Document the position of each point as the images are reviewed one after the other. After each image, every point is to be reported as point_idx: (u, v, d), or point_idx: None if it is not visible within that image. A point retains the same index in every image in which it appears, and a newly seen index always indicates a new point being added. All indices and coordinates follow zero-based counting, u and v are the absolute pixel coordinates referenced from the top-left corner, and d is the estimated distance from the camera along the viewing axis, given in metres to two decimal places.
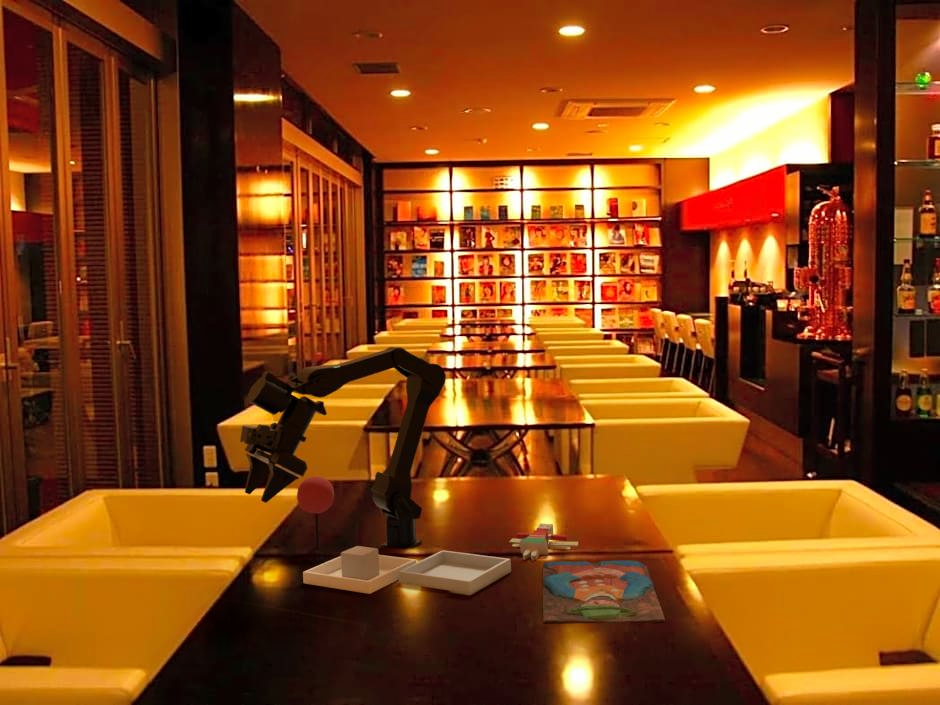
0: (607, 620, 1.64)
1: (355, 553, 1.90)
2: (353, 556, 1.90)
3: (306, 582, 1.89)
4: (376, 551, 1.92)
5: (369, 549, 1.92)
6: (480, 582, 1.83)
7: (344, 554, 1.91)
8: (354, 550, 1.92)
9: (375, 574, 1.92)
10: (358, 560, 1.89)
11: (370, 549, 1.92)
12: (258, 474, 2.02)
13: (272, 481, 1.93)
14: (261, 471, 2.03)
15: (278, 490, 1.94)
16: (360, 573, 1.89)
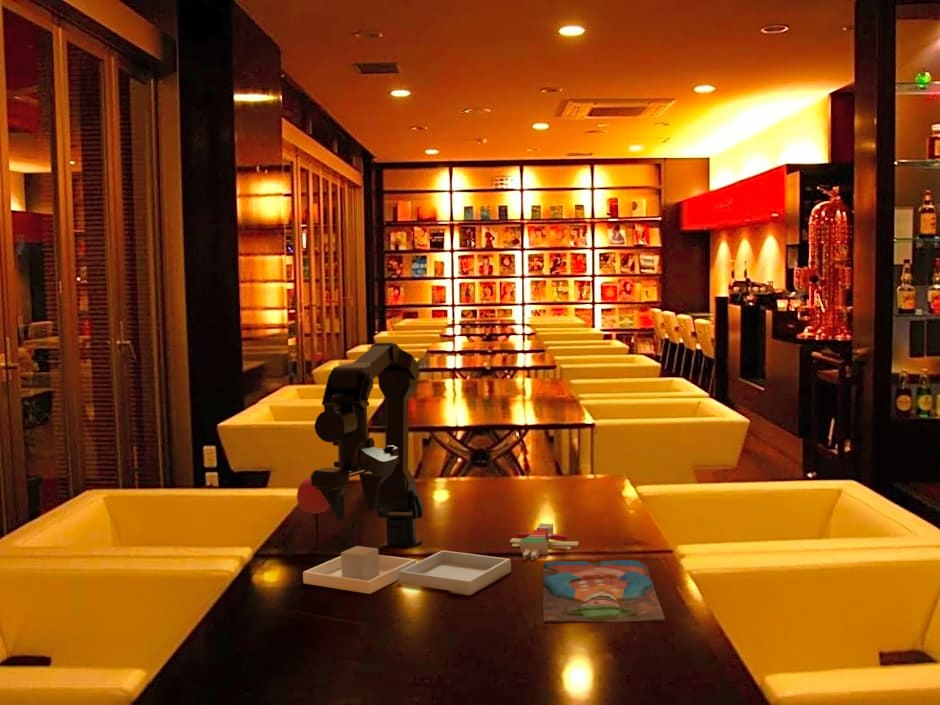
0: (607, 620, 1.64)
1: (355, 553, 1.90)
2: (353, 556, 1.90)
3: (306, 582, 1.89)
4: (376, 551, 1.92)
5: (369, 549, 1.92)
6: (480, 582, 1.83)
7: (344, 554, 1.91)
8: (354, 550, 1.92)
9: (375, 574, 1.92)
10: (358, 560, 1.89)
11: (370, 549, 1.92)
12: None
13: None
14: None
15: None
16: (360, 573, 1.89)
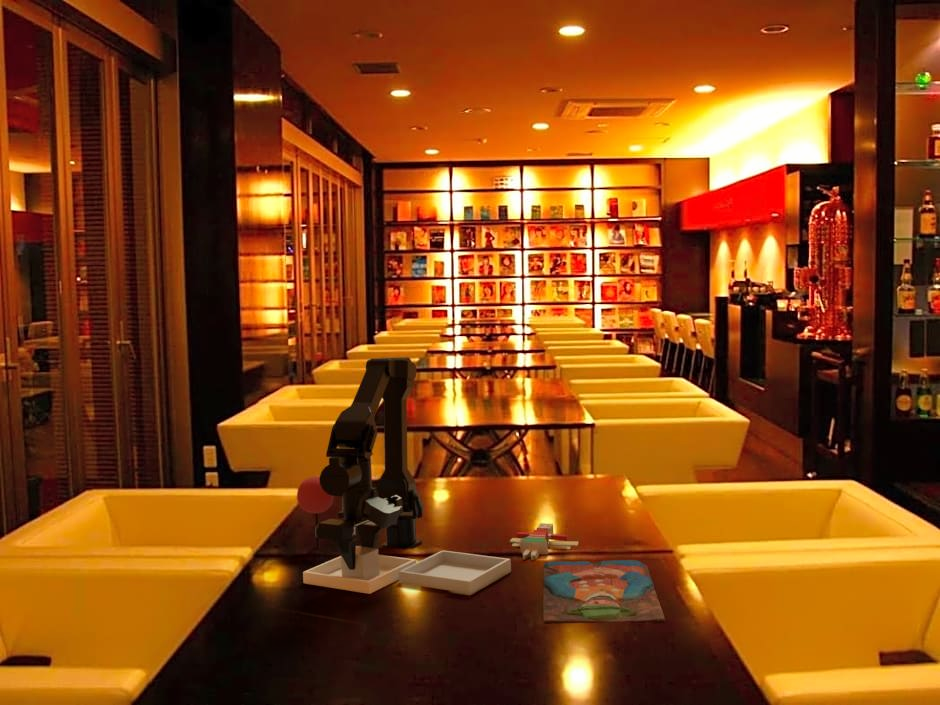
0: (607, 620, 1.64)
1: None
2: None
3: (306, 582, 1.89)
4: (376, 551, 1.92)
5: (369, 549, 1.92)
6: (480, 582, 1.83)
7: None
8: None
9: (375, 574, 1.92)
10: (358, 560, 1.89)
11: (370, 549, 1.92)
12: None
13: None
14: None
15: None
16: (361, 573, 1.89)
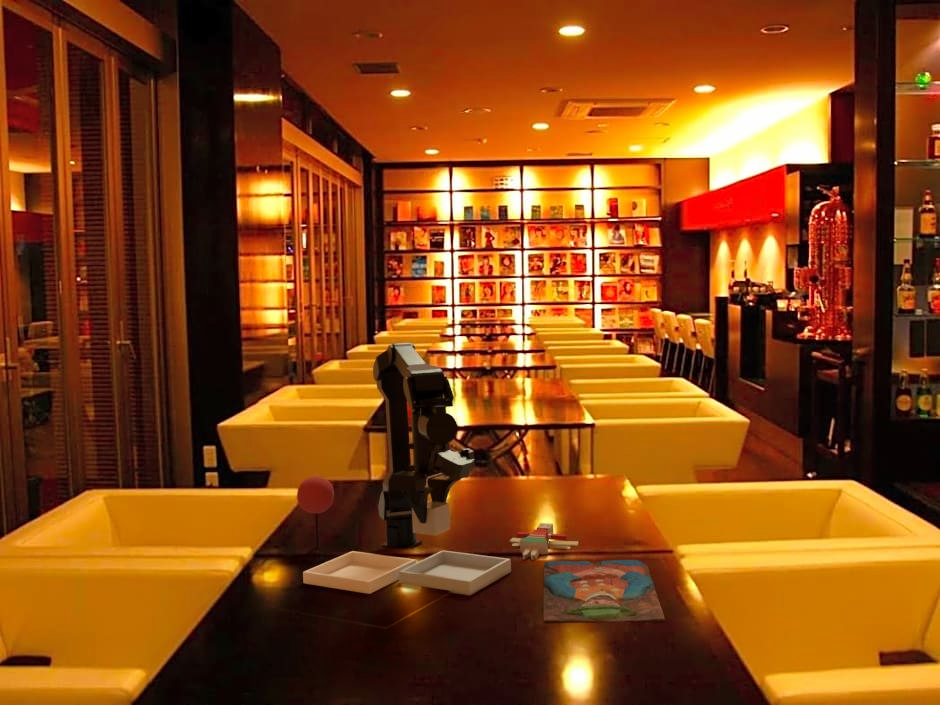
0: (607, 620, 1.65)
1: None
2: None
3: (306, 582, 1.89)
4: (447, 505, 1.90)
5: (440, 503, 1.90)
6: (480, 582, 1.83)
7: None
8: None
9: (446, 528, 1.89)
10: (429, 514, 1.87)
11: (441, 503, 1.90)
12: None
13: None
14: None
15: None
16: (432, 526, 1.86)
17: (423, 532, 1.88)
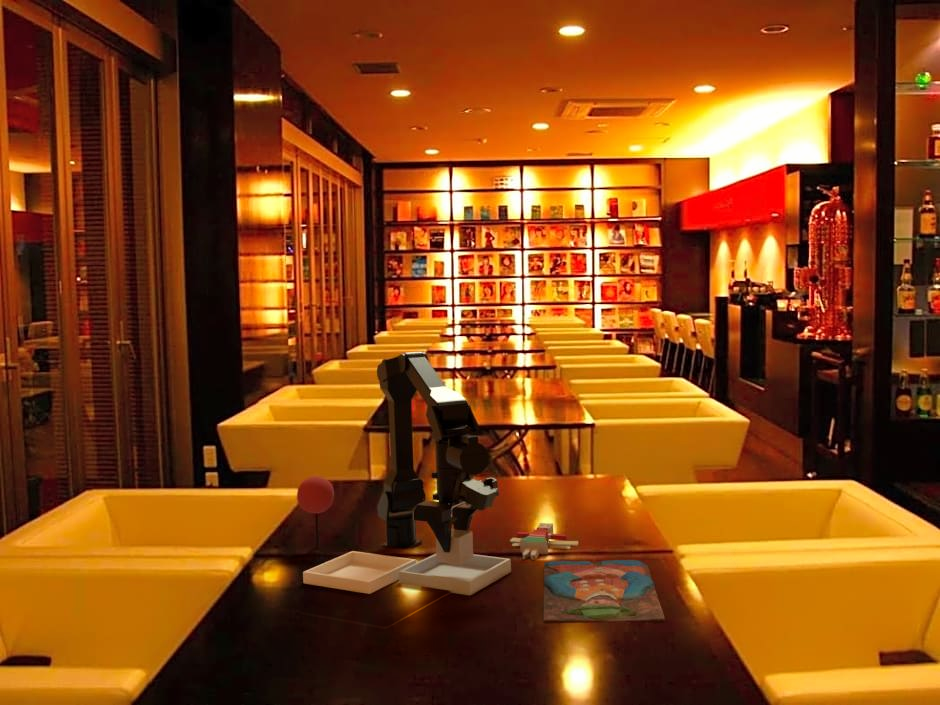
0: (607, 619, 1.65)
1: None
2: None
3: (306, 582, 1.89)
4: (470, 534, 1.90)
5: (463, 532, 1.90)
6: (480, 582, 1.83)
7: None
8: None
9: (469, 557, 1.90)
10: (454, 543, 1.87)
11: (464, 532, 1.90)
12: None
13: None
14: None
15: None
16: (456, 555, 1.87)
17: (447, 561, 1.88)
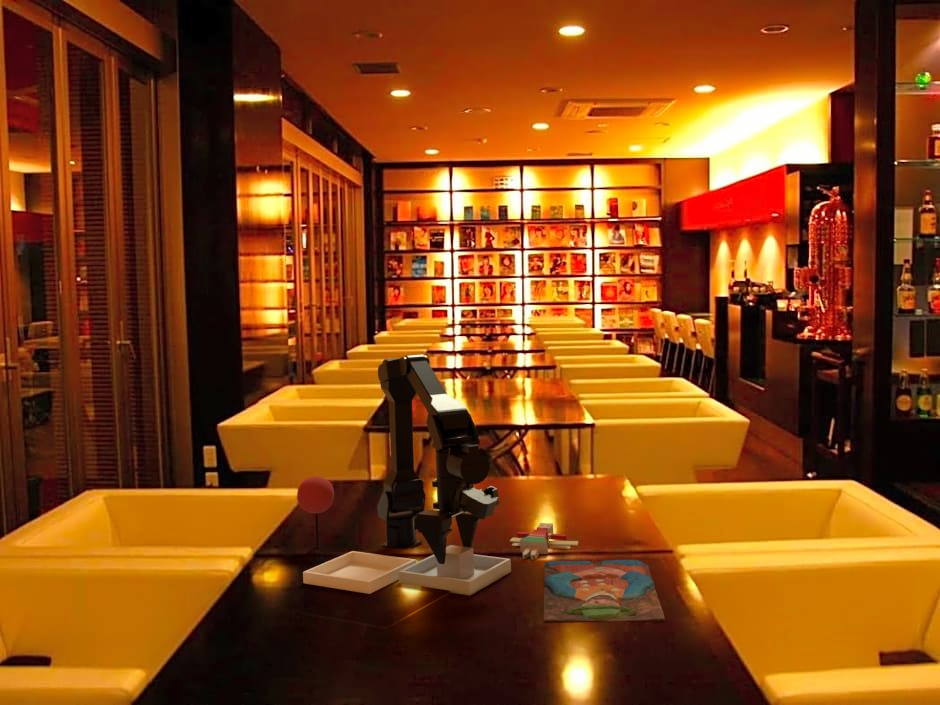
0: (607, 619, 1.65)
1: (451, 552, 1.88)
2: (449, 556, 1.88)
3: (306, 582, 1.89)
4: (471, 550, 1.90)
5: (464, 548, 1.90)
6: (480, 582, 1.83)
7: None
8: (449, 549, 1.90)
9: (470, 573, 1.90)
10: (454, 560, 1.87)
11: (465, 548, 1.90)
12: None
13: None
14: None
15: None
16: (457, 572, 1.87)
17: None
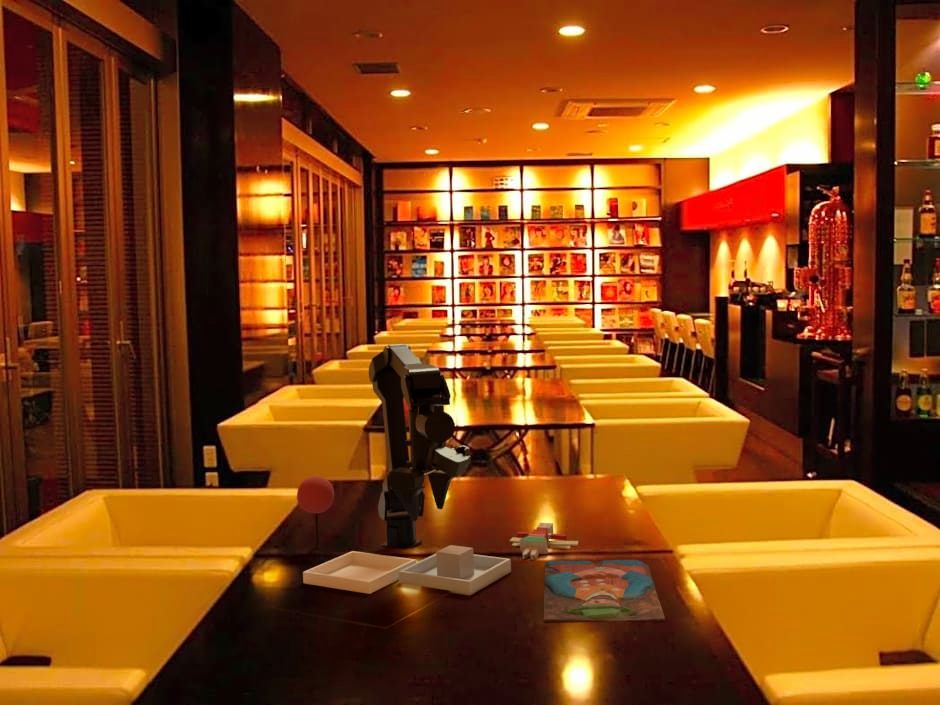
0: (607, 619, 1.65)
1: (451, 552, 1.88)
2: (449, 556, 1.88)
3: (306, 582, 1.89)
4: (471, 550, 1.90)
5: (464, 548, 1.90)
6: (480, 582, 1.83)
7: (440, 553, 1.89)
8: (449, 549, 1.90)
9: (470, 573, 1.90)
10: (454, 560, 1.87)
11: (465, 548, 1.90)
12: None
13: None
14: None
15: None
16: (457, 572, 1.87)
17: None
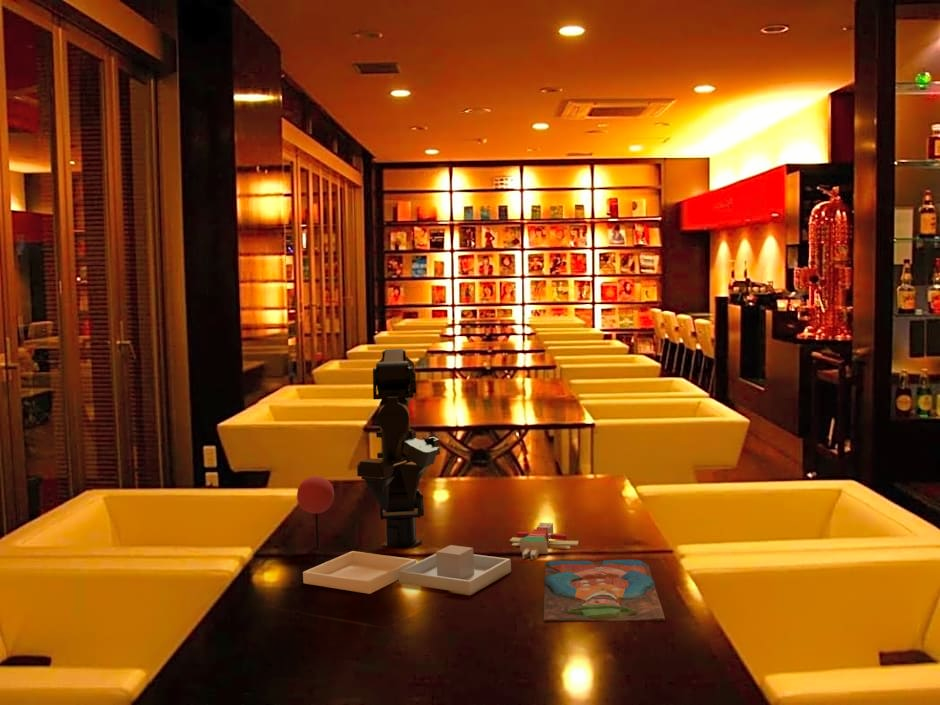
0: (607, 619, 1.65)
1: (451, 552, 1.88)
2: (449, 556, 1.88)
3: (306, 582, 1.89)
4: (471, 550, 1.90)
5: (464, 548, 1.90)
6: (480, 582, 1.83)
7: (440, 553, 1.89)
8: (449, 549, 1.90)
9: (470, 573, 1.90)
10: (454, 560, 1.87)
11: (465, 548, 1.90)
12: None
13: None
14: None
15: None
16: (457, 572, 1.87)
17: None
